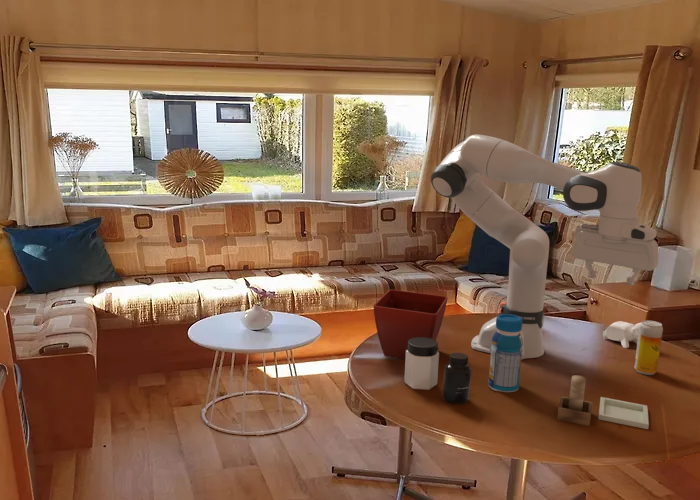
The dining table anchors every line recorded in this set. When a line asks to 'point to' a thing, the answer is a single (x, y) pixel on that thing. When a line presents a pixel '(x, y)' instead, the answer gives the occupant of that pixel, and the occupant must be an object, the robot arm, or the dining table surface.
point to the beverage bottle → (506, 354)
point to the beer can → (648, 347)
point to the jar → (421, 363)
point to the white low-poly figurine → (622, 332)
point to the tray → (623, 412)
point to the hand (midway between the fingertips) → (610, 281)
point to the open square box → (574, 412)
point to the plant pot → (407, 319)
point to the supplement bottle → (457, 379)
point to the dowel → (577, 393)
